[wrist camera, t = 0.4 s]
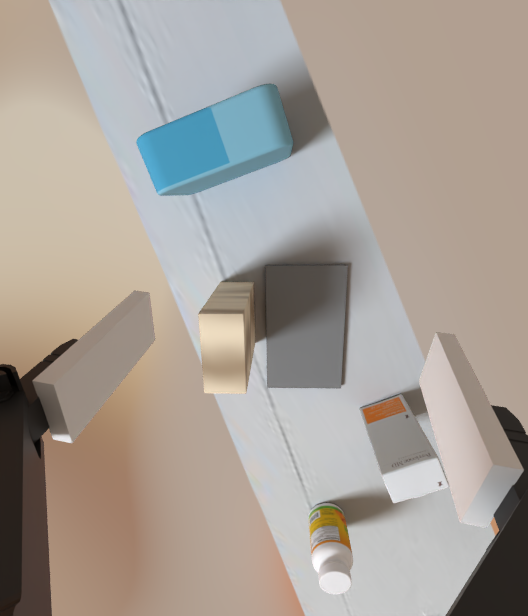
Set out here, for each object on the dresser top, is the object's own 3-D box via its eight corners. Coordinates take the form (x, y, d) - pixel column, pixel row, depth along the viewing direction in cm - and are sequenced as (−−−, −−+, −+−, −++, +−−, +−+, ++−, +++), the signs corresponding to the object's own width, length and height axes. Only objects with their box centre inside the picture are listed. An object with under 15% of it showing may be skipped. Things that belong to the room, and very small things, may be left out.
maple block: (219, 282, 43) (197, 313, 32) (253, 281, 43) (243, 314, 31) (223, 343, 45) (203, 393, 34) (255, 343, 45) (246, 393, 34)
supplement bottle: (344, 529, 54) (357, 598, 45) (309, 529, 54) (314, 599, 45) (344, 501, 52) (357, 567, 43) (307, 502, 53) (312, 568, 43)
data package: (277, 113, 37) (276, 77, 26) (291, 157, 38) (295, 142, 27) (173, 154, 39) (128, 138, 27) (189, 195, 40) (152, 196, 29)
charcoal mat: (265, 265, 42) (265, 266, 41) (346, 264, 42) (347, 265, 41) (267, 385, 47) (267, 387, 46) (340, 385, 46) (340, 388, 46)
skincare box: (401, 392, 46) (440, 456, 35) (411, 417, 47) (452, 488, 36) (356, 407, 47) (380, 475, 36) (367, 432, 48) (394, 506, 37)
